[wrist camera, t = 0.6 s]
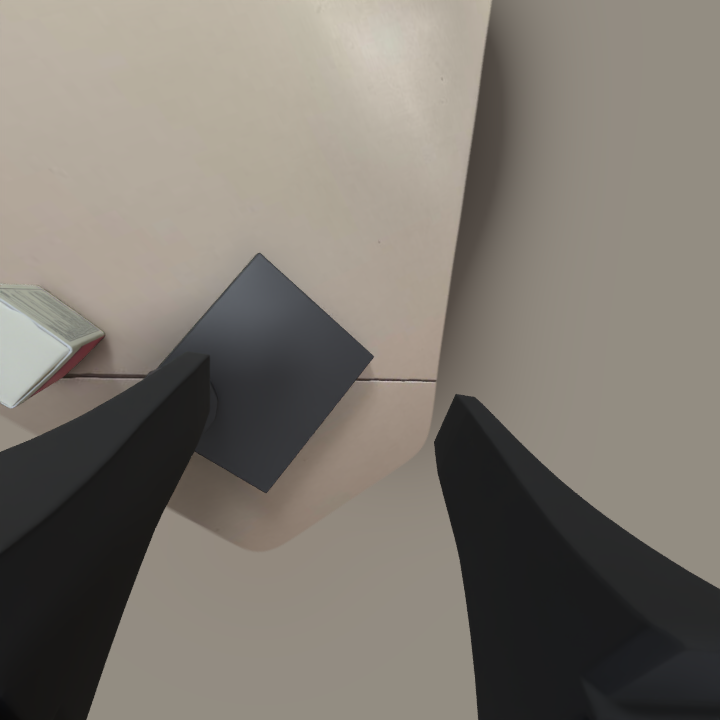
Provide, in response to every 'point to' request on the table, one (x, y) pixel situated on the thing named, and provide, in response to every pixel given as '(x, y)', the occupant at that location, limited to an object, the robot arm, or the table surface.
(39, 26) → the table surface
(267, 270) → the scale
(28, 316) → the small box
